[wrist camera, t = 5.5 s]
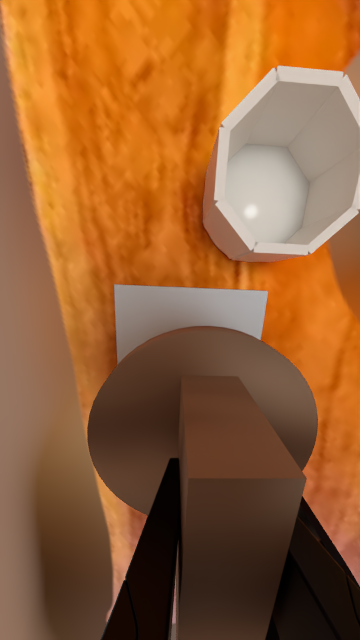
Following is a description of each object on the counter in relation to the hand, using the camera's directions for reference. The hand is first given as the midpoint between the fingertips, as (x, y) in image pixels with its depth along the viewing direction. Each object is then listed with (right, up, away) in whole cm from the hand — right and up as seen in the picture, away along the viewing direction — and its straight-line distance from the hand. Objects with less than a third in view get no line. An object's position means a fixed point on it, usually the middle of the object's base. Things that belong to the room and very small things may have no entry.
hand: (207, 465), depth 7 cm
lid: (0, +1, +2) cm, 2 cm away
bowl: (+5, +16, +7) cm, 18 cm away
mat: (0, +2, +10) cm, 10 cm away
